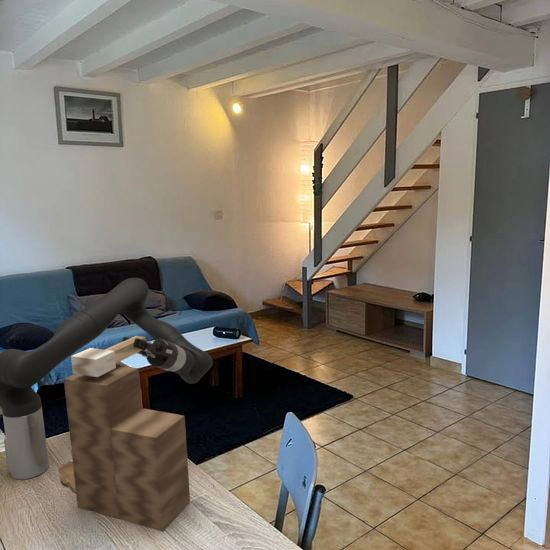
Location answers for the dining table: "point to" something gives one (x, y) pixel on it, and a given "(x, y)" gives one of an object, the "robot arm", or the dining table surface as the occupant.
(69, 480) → the pottery shard
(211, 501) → the dining table surface
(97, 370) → the mallet
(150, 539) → the dining table surface
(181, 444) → the stepped stand
